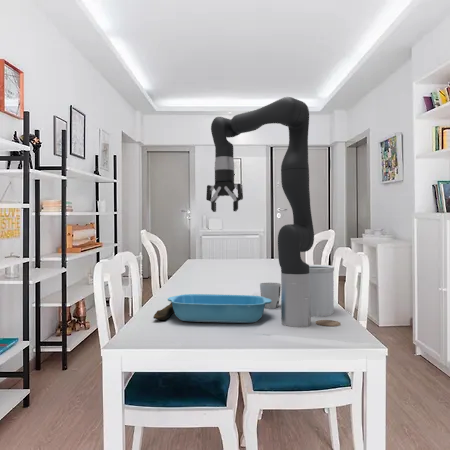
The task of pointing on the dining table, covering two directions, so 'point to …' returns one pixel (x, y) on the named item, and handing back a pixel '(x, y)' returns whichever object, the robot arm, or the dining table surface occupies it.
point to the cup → (271, 293)
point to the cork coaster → (328, 323)
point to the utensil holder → (321, 289)
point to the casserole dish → (219, 307)
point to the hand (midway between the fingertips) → (224, 211)
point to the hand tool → (164, 312)
